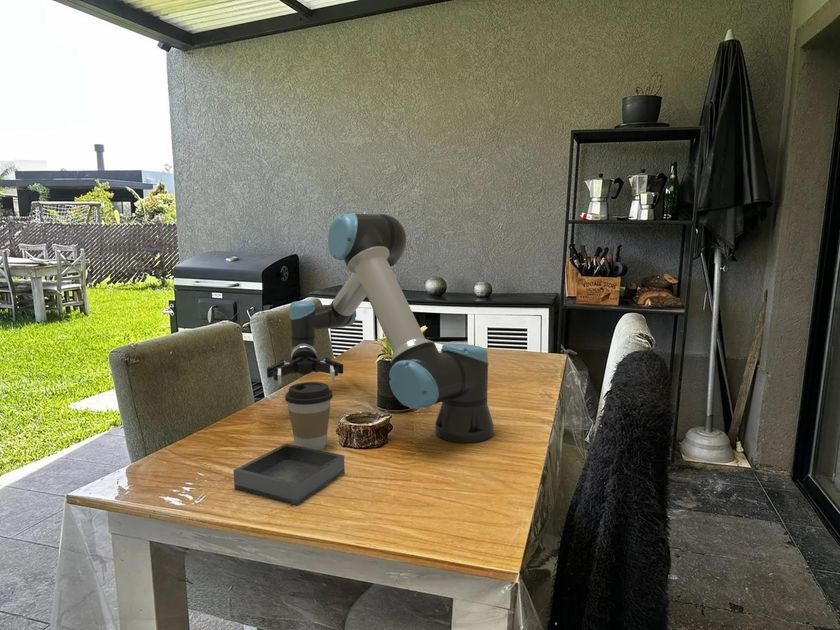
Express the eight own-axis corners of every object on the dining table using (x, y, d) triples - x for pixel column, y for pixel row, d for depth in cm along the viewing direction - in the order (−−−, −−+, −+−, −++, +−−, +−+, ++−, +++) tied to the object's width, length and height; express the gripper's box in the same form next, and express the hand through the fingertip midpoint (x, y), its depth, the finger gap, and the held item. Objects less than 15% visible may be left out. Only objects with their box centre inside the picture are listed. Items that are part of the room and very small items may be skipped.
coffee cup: (293, 437, 141) (291, 380, 139) (338, 438, 141) (336, 380, 139) (281, 455, 130) (278, 393, 128) (329, 456, 130) (327, 393, 127)
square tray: (344, 473, 120) (344, 455, 120) (296, 505, 106) (296, 485, 106) (286, 460, 127) (285, 443, 127) (234, 488, 113) (233, 470, 113)
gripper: (347, 369, 167) (355, 389, 146) (260, 374, 161) (256, 395, 141) (346, 344, 166) (354, 361, 145) (259, 348, 160) (255, 366, 140)
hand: (306, 378), depth 143 cm, fingers open, 13 cm apart
